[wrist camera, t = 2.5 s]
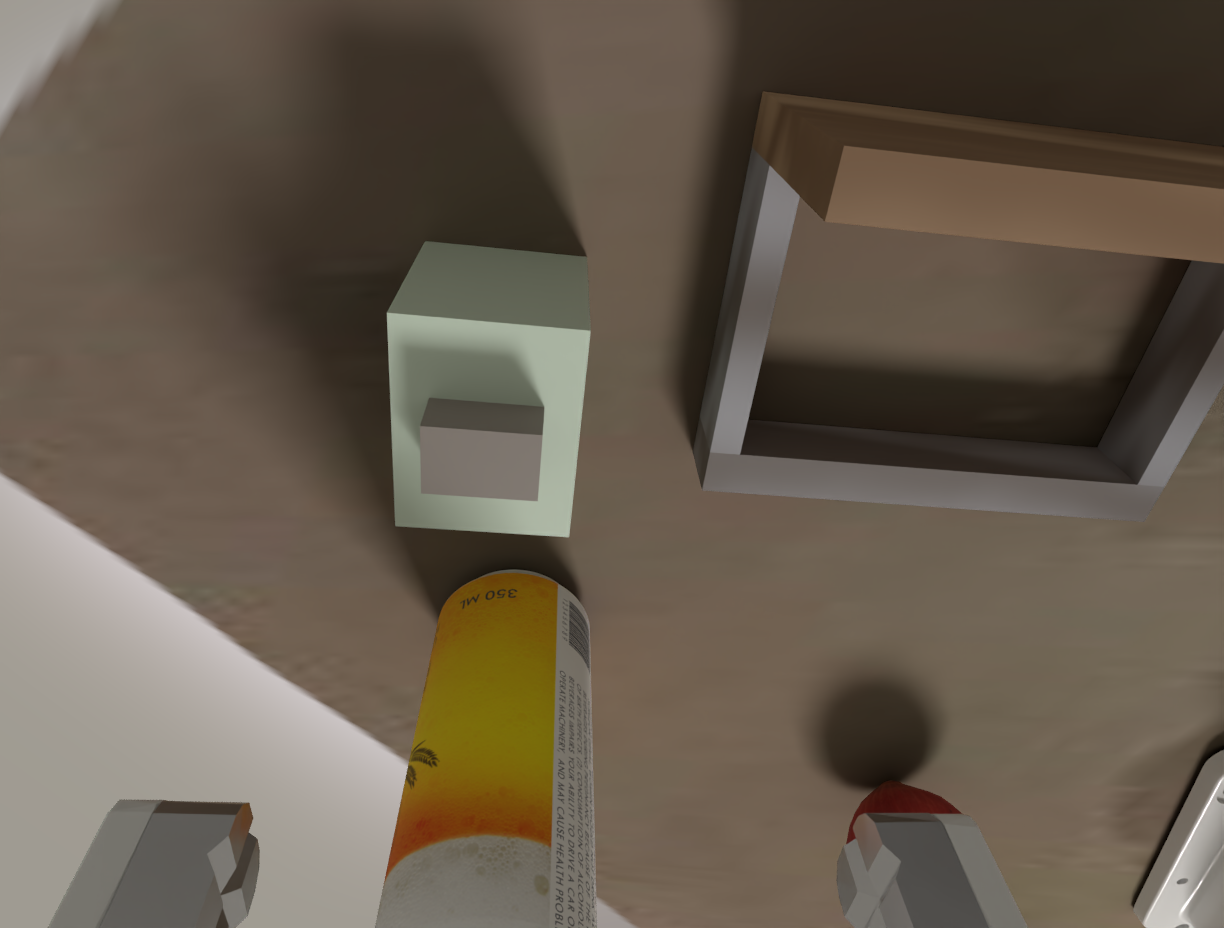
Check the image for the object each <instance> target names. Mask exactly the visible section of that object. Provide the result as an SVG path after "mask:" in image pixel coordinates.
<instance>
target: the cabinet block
mask: <svg viewBox="0 0 1224 928" xmlns="http://www.w3.org/2000/svg"><path fill="white" fill-rule="evenodd" d="M387 330H388V355H389V380H390V406H391V431H392V456H393V481H394V507H395V526H401V527H416V528H432V529H447V530H463V531H479V532H494V533H510V534H526V535H541V536H557V537H569V532H570V522H571V513H572V503H573V494H574V484H575V475H576V465H577V456H578V446H579V437H580V427H581V417H582V408H583V398H584V389H585V379H586V370H587V360H588V351H589V341H590V332H591V329H590V309H589V288H588V267H587V257H583V256H573V255H563V254H552V253H542V252H532V251H522V250H512V249H501V248H491V247H481V246H471V245H461V244H450V243H440V242H430V241H425V242H424V244H423V246H422V248H421V250H420V252H419V253H418V255H417V257H416V259H415V261H414V263H413V265H412V266H411V268H410V270H409V272H408V274H407V276H406V278H405V280H404V281H403V283H402V285H401V287H400V289H399V291H398V293H397V295H396V296H395V298H394V300H393V302H392V304H391V306H390V308H389V310H388V311H387Z"/></svg>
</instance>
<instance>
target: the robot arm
mask: <svg viewBox="0 0 1224 928" xmlns="http://www.w3.org/2000/svg"><path fill="white" fill-rule="evenodd" d="M252 820H253V815H252V812H251V808H250V804H249V803H237V802H191V801H190V802H188V801H187V802H186V801H166V800H119V801H118V802H117V803H116V805H115V806H114V807H113V808H112V809H111V810H110V811H109V812H108V813H107V815H106V817H105V819H104V821H103V823H102V825H101V826H100V828H99V830H98V832H97V834H96V836H95V838H94V840H93V842H92V844H91V846H90V848H89V850H88V851H87V853H86V855H85V857H84V859H83V861H82V863H81V865H80V867H79V869H78V871H77V872H76V875H75V877H74V878H73V880H72V882H71V884H70V886H69V888H68V890H67V892H66V894H65V895H64V897H63V899H62V901H61V903H60V905H59V907H58V909H57V911H56V913H55V915H54V917H53V919H52V921H51V923H50V924H49V926H48V928H236V927H237V926H238V925H239V924H240V923H241V922H242V921H243V920H244V919H245V918H246V917H247V916H248V912H249V909H250V906H251V903H252V899H253V896H254V892H255V888H256V882H257V876H258V871H259V845H258V840H257V838H256V837H254V836H253V835H251V834H250V833H249V829H250V826H251V823H252ZM853 830H854V833H855V837H856V839H854V840H853V841H851V842H849V843H848V844H846V845H845V846H843V849H842V851H841V854H840V856H839V859H838V862H837V886H838V892H839V898H840V902H841V905H842V909H843V912H844V916H845V918H846V919H847V920H848V921H849V922H850V923H851V924H852V925H853V926H854V927H855V928H1028V927H1027V925H1026V923H1025V921H1024V919H1023V917H1022V915H1021V913H1020V910H1019V908H1018V906H1017V904H1016V902H1015V900H1014V898H1013V896H1012V894H1011V892H1010V890H1009V888H1008V886H1007V884H1006V882H1005V880H1004V878H1003V876H1002V874H1001V872H1000V870H999V868H998V866H997V864H996V862H995V860H994V858H993V856H992V854H991V852H990V850H989V848H988V846H987V844H986V842H985V840H984V838H983V836H982V833H981V831H980V829H979V827H978V825H977V823H976V822H975V821H974V820H973V819H972V818H971V817H970V816H968V815H964V814H930V813H864V814H862V815H860V816H858V817H857V819H856V821H855V823H854V825H853ZM1133 911H1134V913H1135V914H1136V916H1137V917H1138V918H1139V920H1140V921H1141V923H1142V924H1143V925H1144V926H1145V927H1147V928H1224V750H1222V751H1220V752H1218V753H1216V754H1215V755H1213V756H1212V757H1211V758H1209V759H1208V760H1207V761H1206V763H1205V764H1204V766H1203V768H1202V770H1201V772H1200V774H1199V776H1198V778H1197V780H1196V782H1195V784H1194V786H1193V788H1192V790H1191V792H1190V794H1189V796H1188V798H1187V800H1186V802H1185V804H1184V806H1183V808H1182V810H1181V812H1180V814H1179V816H1178V818H1177V820H1176V822H1175V824H1174V826H1173V828H1172V830H1171V832H1170V834H1169V836H1168V838H1167V840H1166V842H1165V844H1164V846H1163V848H1162V850H1161V852H1160V854H1159V856H1158V858H1157V860H1156V862H1155V864H1154V866H1153V868H1152V870H1151V873H1150V875H1149V877H1148V879H1147V881H1146V883H1145V885H1144V887H1143V889H1142V891H1141V893H1140V895H1139V897H1138V899H1137V901H1136V903H1135V905H1134V909H1133Z"/></svg>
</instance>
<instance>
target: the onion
mask: <svg viewBox="0 0 1224 928" xmlns="http://www.w3.org/2000/svg"><path fill="white" fill-rule="evenodd" d="M864 813H930V814H962V813H961V812H960V811H958V810H957V809H956V808H955V807H954V806H953V805H951V804H950V803H949V802H947V801H946V800H945V799H943V798H942V797H940V796H938V795H935V794H933V793H930V792H928V791H925V790H921V789H918V788H915V787H911V786H908V785H905V784H902V783H900V782H898V781H886V782H884V783H882V784H881V785H880V786H879V787H878V788H877V789H875V790H874V791H873V792H872V793H870V794H869V795H868V796H867V797H866V798H865V799H864V800H863V801H862V802H861V804H860V806H859V807H858V809H857V811H856V812H855V814H854V817H853V819H852V822H851V824H850V827H849V832H848V838H847V843H846V844H848V843H849V842H851V841H853V840H854V839H856V837H855V833H854V830H853V825H854V823H855V821H856V819H857V817H858V816H860V815H862V814H864Z"/></svg>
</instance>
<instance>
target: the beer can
mask: <svg viewBox="0 0 1224 928" xmlns="http://www.w3.org/2000/svg"><path fill="white" fill-rule="evenodd" d="M375 928H597V911H596V870H595V829H594V788H593V747H592V705H591V664H590V627H589V620H588V616H587V614H586V611H585V609H584V608H583V606H582V604H581V603H580V602H579V600H578V599H577V598H576V597H575V596H574V595H573V594H572V593H571V592H570V591H568V590H567V589H566V588H564V587H563V586H561V585H560V584H558V583H557V582H556V581H554V580H552V579H551V578H549V577H547V576H544V575H542V574H539V573H536V572H532V571H527V570H517V569H510V570H500V571H495V572H492V573H488V574H486V575H483V576H481V577H479V578H477V579H475V580H473V581H470V582H469V583H467V584H465V585H463V586H462V587H460V588H459V589H458V590H456V591H455V592H454V593H453V594H452V595H451V596H450V597H449V599H448V600H447V601H446V603H445V604H444V606H443V608H442V610H441V612H440V616H439V619H438V624H437V629H436V634H435V639H434V644H433V649H432V653H431V658H430V663H429V668H428V673H427V678H426V682H425V687H424V692H423V697H422V702H421V707H420V712H419V716H418V721H417V726H416V731H415V736H414V741H413V745H412V750H411V755H410V760H409V765H408V770H407V775H406V779H405V784H404V789H403V794H402V799H401V804H400V808H399V813H398V818H397V824H396V829H395V833H394V838H393V843H392V847H391V852H390V857H389V862H388V867H387V872H386V876H385V881H384V886H383V891H382V896H381V901H380V905H379V911H378V915H377V920H376V925H375Z"/></svg>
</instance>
